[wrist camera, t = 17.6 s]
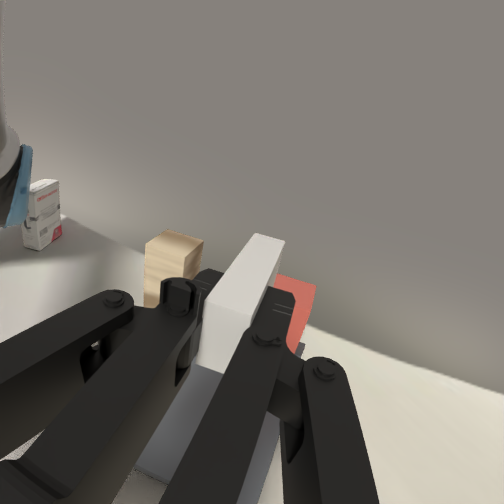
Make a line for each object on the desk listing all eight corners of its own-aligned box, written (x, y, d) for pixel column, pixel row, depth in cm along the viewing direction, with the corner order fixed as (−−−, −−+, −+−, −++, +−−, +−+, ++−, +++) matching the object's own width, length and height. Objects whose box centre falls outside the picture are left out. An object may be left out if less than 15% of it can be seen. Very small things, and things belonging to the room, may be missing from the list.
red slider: (279, 390, 35) (310, 311, 30) (238, 377, 36) (260, 295, 31) (287, 363, 40) (316, 285, 34) (250, 351, 40) (272, 271, 35)
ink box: (45, 229, 60) (43, 177, 55) (62, 234, 60) (61, 179, 55) (21, 246, 52) (16, 189, 47) (39, 252, 52) (34, 192, 47)
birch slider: (177, 339, 39) (184, 257, 34) (143, 325, 40) (145, 243, 35) (193, 318, 44) (203, 240, 39) (161, 306, 45) (167, 229, 39)
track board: (251, 515, 22) (257, 507, 21) (54, 419, 26) (47, 403, 25) (299, 359, 43) (305, 343, 42) (157, 308, 47) (158, 292, 46)
